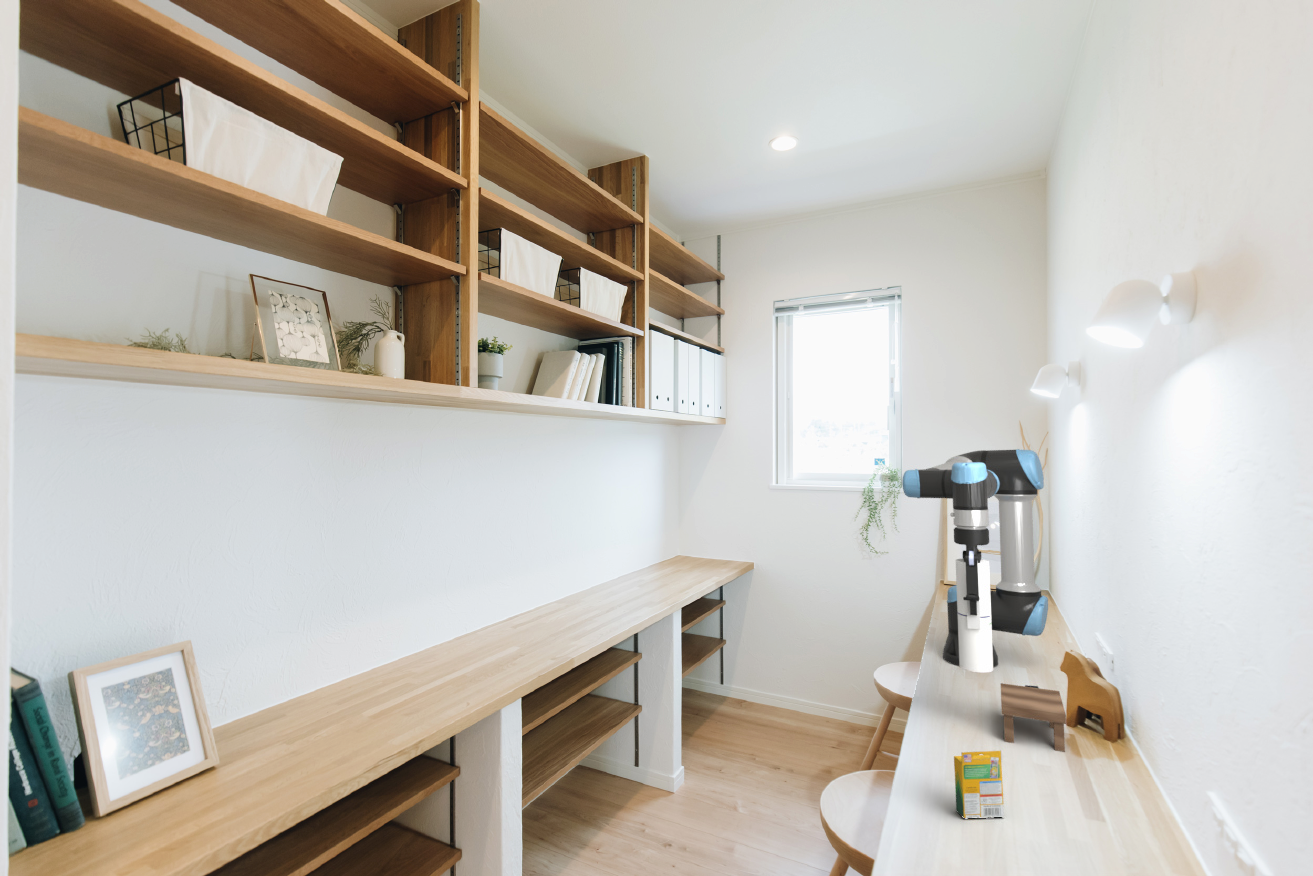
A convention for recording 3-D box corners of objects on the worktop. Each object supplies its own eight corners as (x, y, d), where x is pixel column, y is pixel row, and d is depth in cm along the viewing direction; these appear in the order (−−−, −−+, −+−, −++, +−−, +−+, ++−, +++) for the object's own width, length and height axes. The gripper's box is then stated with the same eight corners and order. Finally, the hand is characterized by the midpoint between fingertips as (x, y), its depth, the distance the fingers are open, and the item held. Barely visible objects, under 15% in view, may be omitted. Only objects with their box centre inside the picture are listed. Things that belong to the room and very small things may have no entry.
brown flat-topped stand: (1001, 716, 151) (1000, 683, 152) (1060, 725, 146) (1059, 691, 146) (1002, 741, 138) (1001, 705, 138) (1067, 753, 132) (1065, 714, 133)
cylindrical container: (952, 665, 150) (948, 560, 150) (974, 660, 152) (970, 557, 153) (978, 674, 143) (974, 564, 144) (1000, 669, 146) (996, 561, 147)
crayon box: (995, 809, 112) (992, 743, 113) (1005, 818, 109) (1002, 751, 110) (955, 810, 112) (952, 744, 112) (963, 820, 109) (961, 752, 109)
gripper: (955, 522, 159) (958, 612, 159) (951, 531, 142) (954, 633, 141) (988, 523, 156) (992, 615, 155) (988, 532, 138) (992, 637, 137)
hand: (974, 624), depth 148 cm, fingers closed on cylindrical container, 7 cm apart
